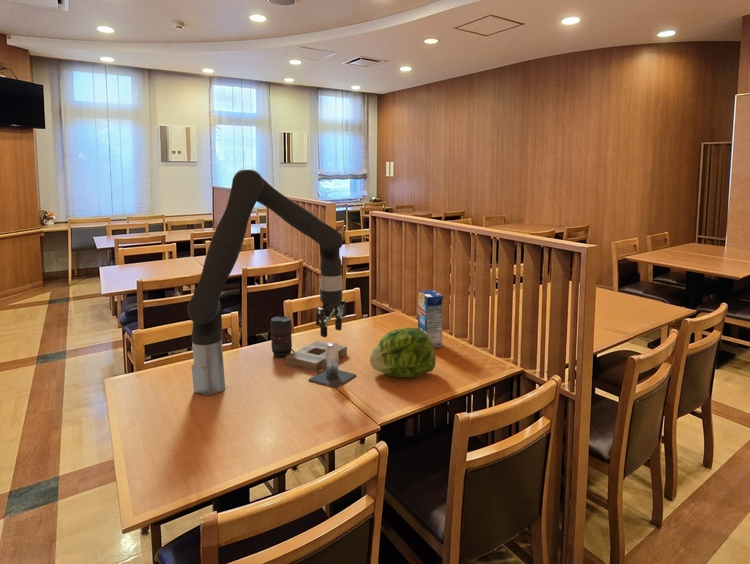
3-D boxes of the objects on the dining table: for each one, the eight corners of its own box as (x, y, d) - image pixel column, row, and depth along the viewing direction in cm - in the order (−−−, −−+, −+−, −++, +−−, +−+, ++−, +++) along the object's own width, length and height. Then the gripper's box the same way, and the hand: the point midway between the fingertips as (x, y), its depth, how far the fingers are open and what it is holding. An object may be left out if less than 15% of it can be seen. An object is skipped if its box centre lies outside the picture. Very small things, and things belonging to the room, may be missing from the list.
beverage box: (426, 349, 203) (427, 297, 198) (417, 340, 213) (418, 290, 208) (441, 347, 204) (443, 296, 199) (432, 339, 215) (433, 289, 210)
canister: (333, 380, 172) (333, 347, 169) (323, 377, 174) (322, 345, 171) (340, 375, 176) (340, 343, 173) (330, 373, 178) (330, 341, 175)
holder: (316, 372, 180) (315, 363, 179) (286, 364, 187) (285, 356, 186) (346, 354, 197) (346, 346, 196) (318, 348, 204) (318, 340, 203)
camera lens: (290, 358, 193) (289, 322, 189) (269, 358, 193) (268, 321, 189) (294, 351, 200) (293, 315, 197) (274, 351, 201) (272, 315, 197)
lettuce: (366, 342, 187) (363, 328, 170) (427, 330, 188) (429, 315, 171) (375, 389, 181) (372, 380, 164) (438, 377, 181) (442, 367, 164)
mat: (336, 388, 167) (336, 386, 167) (308, 380, 173) (308, 379, 173) (356, 375, 177) (356, 374, 177) (328, 368, 183) (328, 367, 183)
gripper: (327, 293, 160) (328, 341, 163) (352, 285, 172) (351, 329, 175) (309, 290, 163) (310, 337, 167) (334, 282, 175) (334, 326, 179)
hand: (331, 333), depth 171 cm, fingers open, 8 cm apart
